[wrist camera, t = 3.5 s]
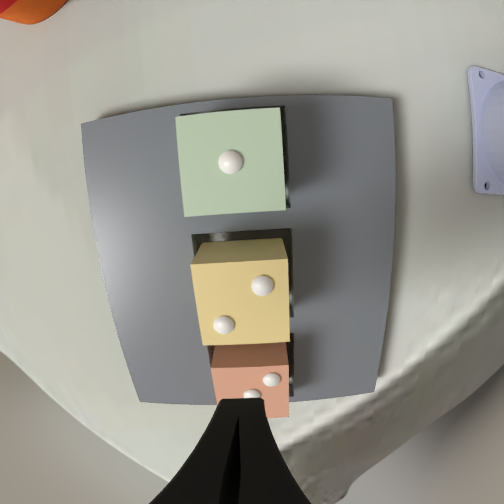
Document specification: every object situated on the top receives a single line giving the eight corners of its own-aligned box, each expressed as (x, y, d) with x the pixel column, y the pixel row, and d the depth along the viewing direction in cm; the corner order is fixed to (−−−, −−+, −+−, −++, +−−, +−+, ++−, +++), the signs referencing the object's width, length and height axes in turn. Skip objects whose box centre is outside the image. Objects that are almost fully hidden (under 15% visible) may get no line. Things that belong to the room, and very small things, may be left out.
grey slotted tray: (383, 101, 15) (392, 98, 14) (369, 381, 20) (374, 392, 19) (91, 124, 15) (81, 123, 14) (144, 391, 21) (140, 401, 20)
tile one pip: (275, 115, 14) (279, 107, 11) (280, 197, 16) (286, 210, 13) (191, 123, 15) (174, 116, 11) (198, 203, 16) (183, 217, 13)
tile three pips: (284, 332, 19) (288, 366, 16) (285, 382, 20) (288, 417, 17) (216, 335, 19) (210, 369, 16) (224, 385, 20) (220, 420, 17)
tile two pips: (281, 237, 16) (288, 259, 13) (284, 309, 17) (290, 342, 14) (202, 242, 16) (189, 265, 13) (211, 312, 18) (202, 346, 14)
